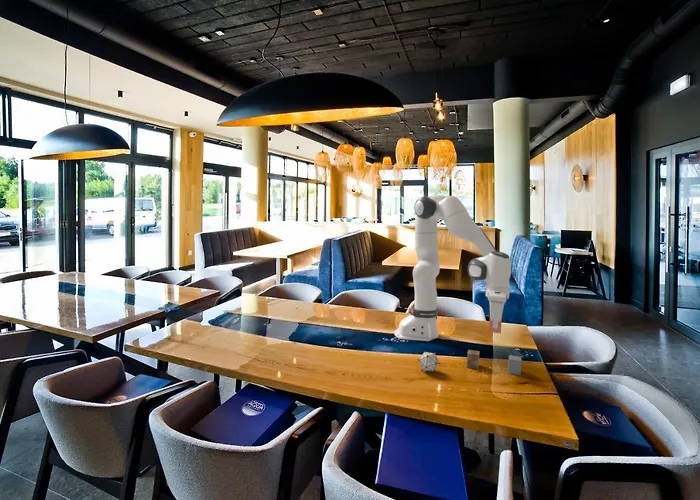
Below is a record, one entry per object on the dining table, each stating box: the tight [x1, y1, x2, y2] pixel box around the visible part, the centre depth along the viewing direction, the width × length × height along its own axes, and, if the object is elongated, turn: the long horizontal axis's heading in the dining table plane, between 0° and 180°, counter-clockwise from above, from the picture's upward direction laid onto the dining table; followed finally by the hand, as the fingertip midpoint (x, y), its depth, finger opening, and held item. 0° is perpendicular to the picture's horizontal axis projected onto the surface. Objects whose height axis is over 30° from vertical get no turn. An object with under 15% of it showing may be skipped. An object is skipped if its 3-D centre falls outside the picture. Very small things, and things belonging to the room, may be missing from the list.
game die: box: [416, 350, 442, 374], centre depth 158 cm, size 9×8×10 cm
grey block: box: [507, 354, 522, 376], centre depth 158 cm, size 4×4×6 cm
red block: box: [488, 317, 503, 334], centre depth 159 cm, size 4×4×6 cm
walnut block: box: [466, 349, 480, 370], centre depth 164 cm, size 4×4×6 cm
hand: (495, 326), depth 159 cm, fingers closed on red block, 4 cm apart
